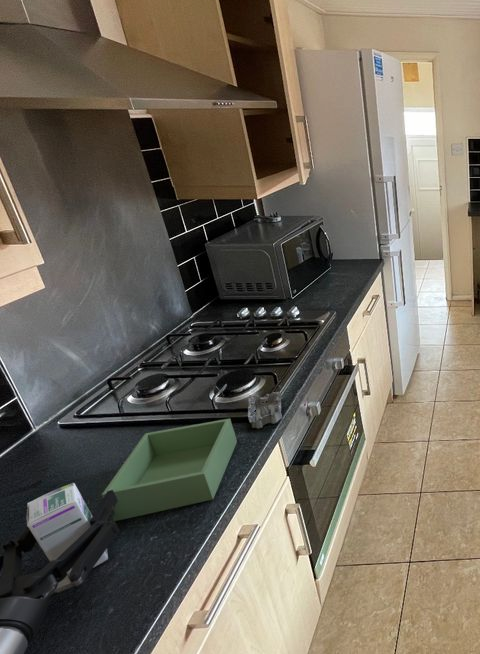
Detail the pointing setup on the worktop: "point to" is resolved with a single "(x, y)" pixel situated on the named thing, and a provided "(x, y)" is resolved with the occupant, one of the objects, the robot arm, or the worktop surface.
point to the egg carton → (264, 409)
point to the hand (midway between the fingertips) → (80, 504)
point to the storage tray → (173, 469)
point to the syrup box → (59, 520)
